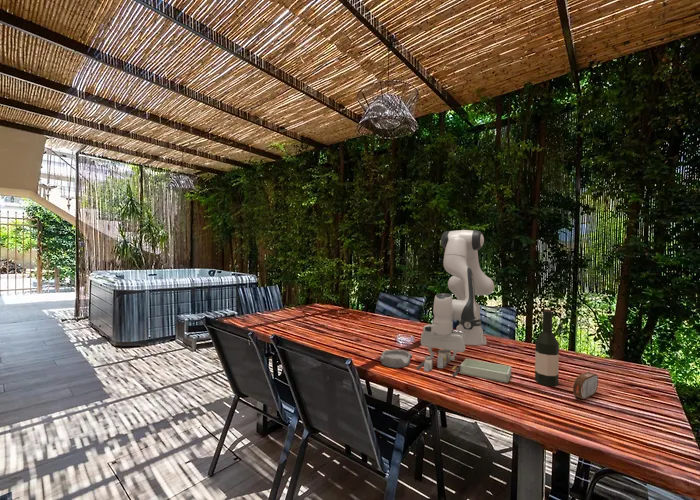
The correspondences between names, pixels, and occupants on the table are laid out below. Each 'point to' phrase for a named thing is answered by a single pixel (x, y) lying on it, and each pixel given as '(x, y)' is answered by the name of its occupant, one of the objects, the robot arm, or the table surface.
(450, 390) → the table surface
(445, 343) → the robot arm
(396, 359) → the dish
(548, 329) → the wine bottle
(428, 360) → the fuse cartridge near camera
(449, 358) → the fuse cartridge near arm
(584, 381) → the tin
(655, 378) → the table surface
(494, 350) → the table surface
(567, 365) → the table surface
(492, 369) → the tray
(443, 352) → the cylinder
